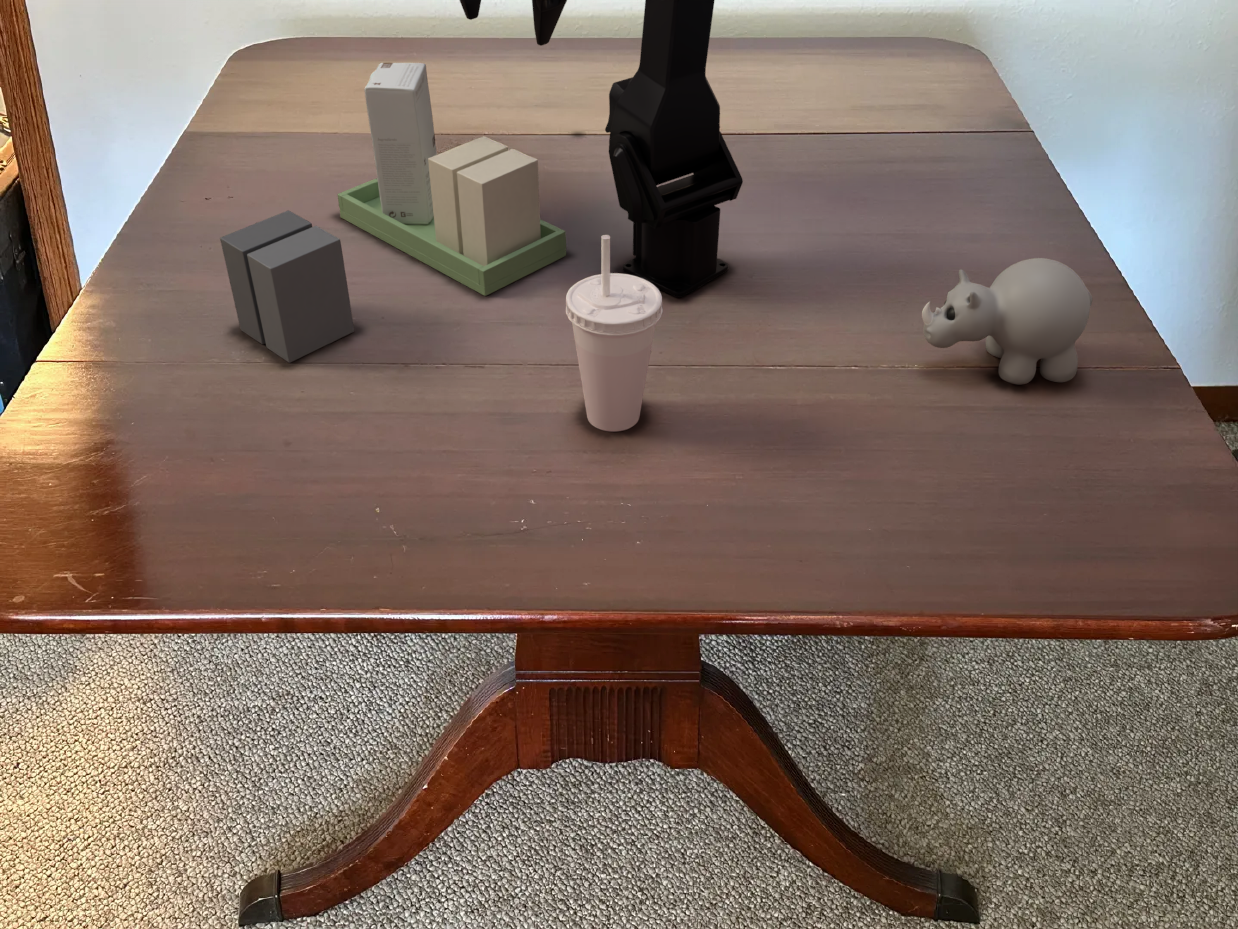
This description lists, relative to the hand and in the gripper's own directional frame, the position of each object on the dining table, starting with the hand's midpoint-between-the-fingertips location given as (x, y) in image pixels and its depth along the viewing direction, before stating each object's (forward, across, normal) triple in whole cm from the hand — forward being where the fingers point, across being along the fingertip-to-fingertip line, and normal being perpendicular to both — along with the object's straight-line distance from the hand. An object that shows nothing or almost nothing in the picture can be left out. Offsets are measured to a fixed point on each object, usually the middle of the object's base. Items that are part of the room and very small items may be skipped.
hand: (506, 30), depth 107 cm
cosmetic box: (+12, +1, -13) cm, 18 cm away
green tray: (+13, +6, -13) cm, 19 cm away
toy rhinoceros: (+13, +50, +2) cm, 52 cm away
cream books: (+13, +11, -13) cm, 21 cm away
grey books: (+13, +9, -31) cm, 35 cm away
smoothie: (+13, +34, -22) cm, 43 cm away
